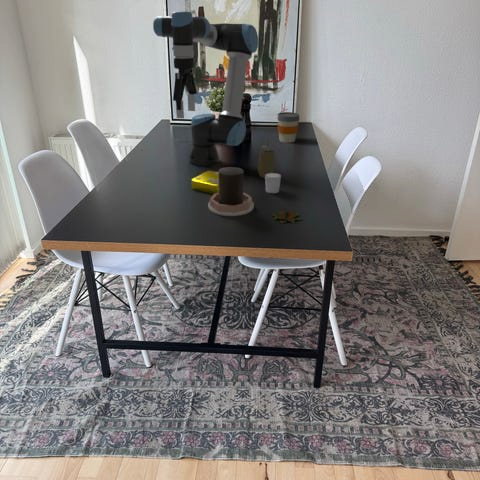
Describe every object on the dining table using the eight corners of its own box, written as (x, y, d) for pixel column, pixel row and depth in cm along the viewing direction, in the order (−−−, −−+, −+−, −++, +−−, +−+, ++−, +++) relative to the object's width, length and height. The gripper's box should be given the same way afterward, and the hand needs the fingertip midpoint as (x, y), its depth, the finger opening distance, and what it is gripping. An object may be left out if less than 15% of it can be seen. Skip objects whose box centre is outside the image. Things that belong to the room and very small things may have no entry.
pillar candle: (234, 210, 174) (235, 173, 167) (213, 205, 178) (213, 168, 171) (247, 202, 181) (248, 166, 174) (227, 197, 186) (227, 161, 179)
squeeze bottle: (273, 180, 207) (275, 140, 199) (255, 178, 208) (256, 139, 200) (275, 174, 214) (277, 136, 206) (258, 172, 215) (259, 135, 207)
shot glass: (282, 189, 197) (283, 173, 194) (278, 194, 192) (278, 178, 188) (266, 187, 199) (267, 171, 196) (262, 192, 194) (262, 176, 190)
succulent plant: (279, 227, 165) (279, 216, 163) (265, 214, 175) (265, 203, 172) (308, 222, 169) (309, 211, 167) (293, 210, 179) (293, 199, 176)
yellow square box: (237, 184, 202) (237, 174, 200) (219, 196, 191) (219, 185, 189) (208, 178, 209) (208, 168, 207) (189, 189, 197) (189, 178, 195)
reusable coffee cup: (298, 143, 261) (300, 117, 254) (277, 143, 261) (278, 116, 254) (296, 137, 272) (298, 112, 265) (275, 137, 272) (277, 111, 265)
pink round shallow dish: (215, 196, 189) (215, 188, 188) (257, 200, 186) (258, 192, 184) (202, 213, 174) (202, 204, 172) (248, 218, 170) (248, 209, 169)
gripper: (185, 53, 183) (187, 107, 193) (161, 60, 162) (165, 120, 172) (203, 54, 182) (204, 108, 192) (181, 61, 160) (184, 121, 170)
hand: (186, 114), depth 182 cm, fingers open, 13 cm apart
